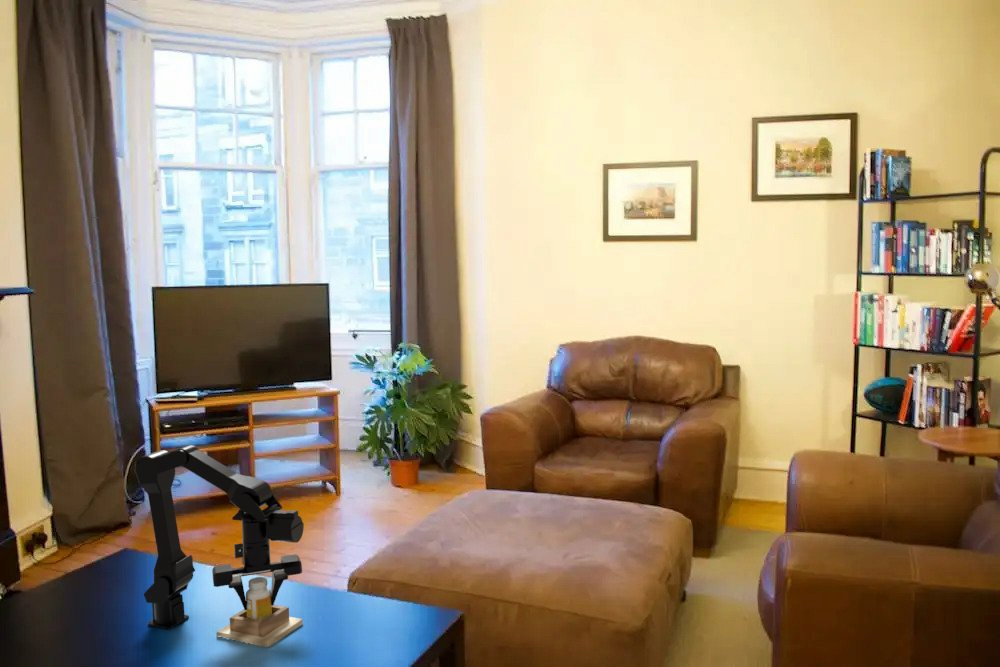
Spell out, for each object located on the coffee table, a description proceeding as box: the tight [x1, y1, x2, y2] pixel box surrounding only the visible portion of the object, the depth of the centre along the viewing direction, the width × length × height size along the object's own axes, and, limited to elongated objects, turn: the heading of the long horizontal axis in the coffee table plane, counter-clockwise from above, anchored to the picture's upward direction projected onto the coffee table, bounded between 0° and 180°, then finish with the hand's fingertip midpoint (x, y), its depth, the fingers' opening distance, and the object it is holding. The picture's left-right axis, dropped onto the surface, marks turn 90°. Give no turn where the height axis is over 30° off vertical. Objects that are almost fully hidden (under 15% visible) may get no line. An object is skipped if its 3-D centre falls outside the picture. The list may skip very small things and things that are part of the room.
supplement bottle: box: [245, 576, 272, 621], centre depth 179 cm, size 5×5×10 cm
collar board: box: [216, 604, 304, 648], centre depth 180 cm, size 14×12×4 cm
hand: (258, 607), depth 180 cm, fingers closed on supplement bottle, 5 cm apart
